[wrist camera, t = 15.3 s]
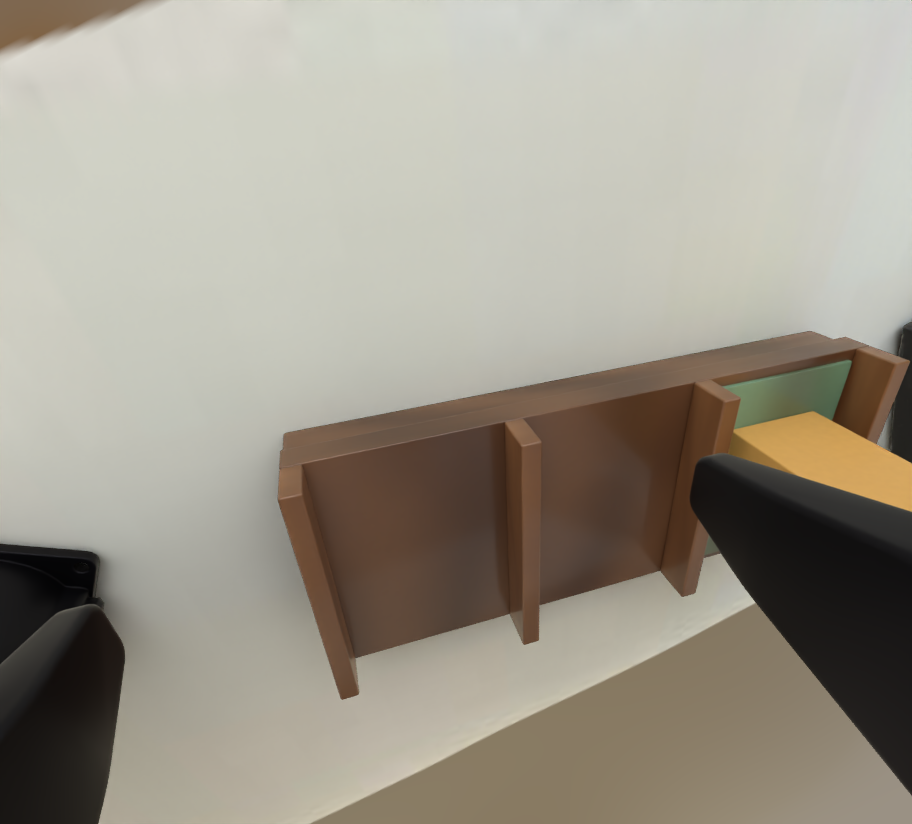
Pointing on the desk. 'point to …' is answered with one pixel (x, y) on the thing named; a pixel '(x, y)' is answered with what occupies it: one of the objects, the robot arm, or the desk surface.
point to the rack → (540, 487)
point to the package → (827, 457)
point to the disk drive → (903, 403)
